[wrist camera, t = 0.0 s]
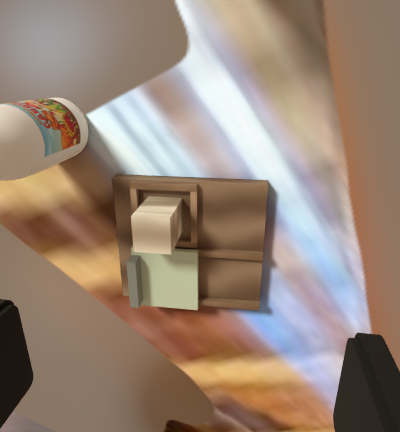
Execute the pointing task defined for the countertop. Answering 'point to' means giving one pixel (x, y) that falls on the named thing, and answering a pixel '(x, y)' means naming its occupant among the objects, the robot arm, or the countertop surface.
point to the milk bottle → (39, 135)
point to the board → (206, 231)
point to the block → (157, 225)
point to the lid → (163, 279)
